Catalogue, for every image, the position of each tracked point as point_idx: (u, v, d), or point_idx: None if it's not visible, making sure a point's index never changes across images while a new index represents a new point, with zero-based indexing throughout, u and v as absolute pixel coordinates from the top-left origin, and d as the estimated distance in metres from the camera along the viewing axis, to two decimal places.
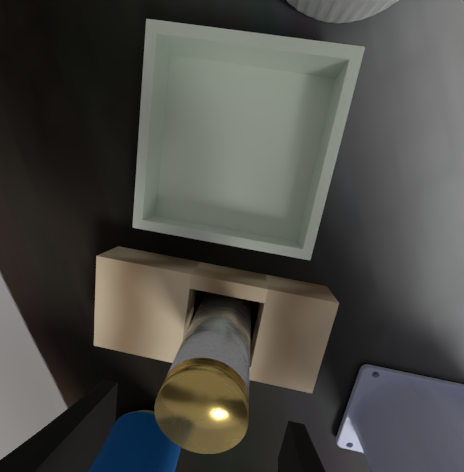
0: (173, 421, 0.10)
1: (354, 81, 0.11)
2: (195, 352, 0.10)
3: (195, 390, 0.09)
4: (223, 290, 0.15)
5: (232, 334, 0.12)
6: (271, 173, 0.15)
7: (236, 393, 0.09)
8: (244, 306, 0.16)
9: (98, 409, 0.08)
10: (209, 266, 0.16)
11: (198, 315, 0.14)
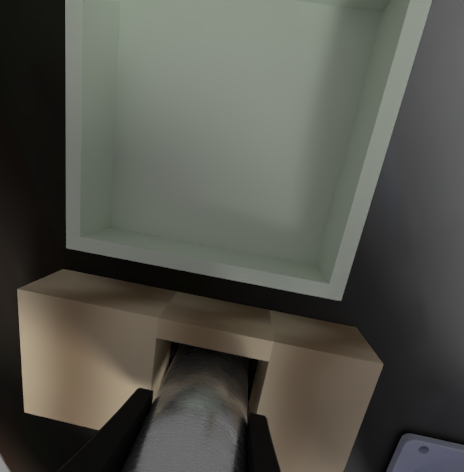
0: None
1: None
2: None
3: None
4: (206, 342, 0.10)
5: (215, 434, 0.07)
6: (279, 165, 0.10)
7: None
8: (238, 360, 0.11)
9: (139, 418, 0.08)
10: (189, 299, 0.12)
11: (167, 383, 0.09)
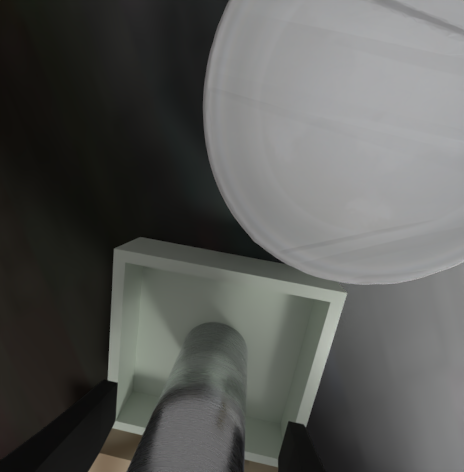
0: None
1: (336, 322, 0.11)
2: (156, 464, 0.07)
3: None
4: None
5: (218, 414, 0.08)
6: (253, 363, 0.14)
7: None
8: (238, 353, 0.12)
9: (98, 409, 0.08)
10: None
11: (174, 374, 0.10)
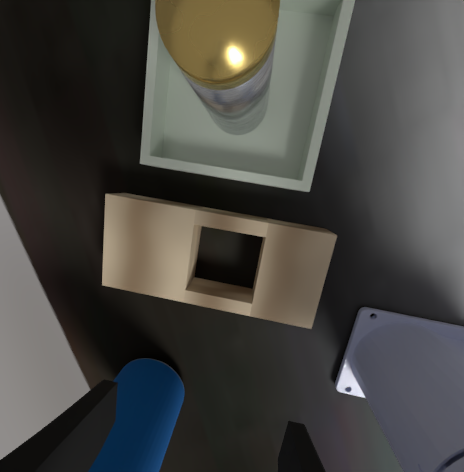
0: (180, 24, 0.07)
1: (351, 10, 0.12)
2: None
3: None
4: (226, 225, 0.15)
5: None
6: (272, 113, 0.15)
7: None
8: None
9: (98, 409, 0.08)
10: (212, 209, 0.17)
11: None
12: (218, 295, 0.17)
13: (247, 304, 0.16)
